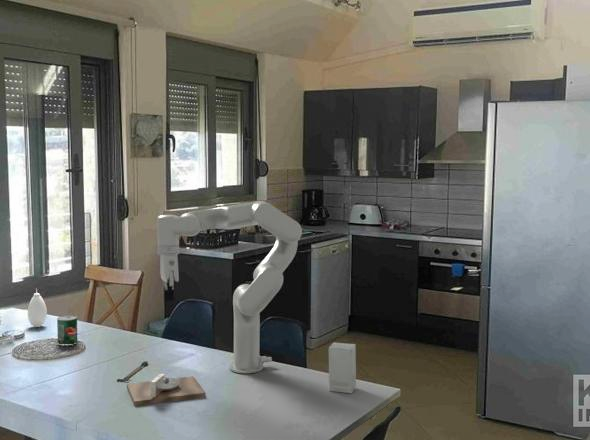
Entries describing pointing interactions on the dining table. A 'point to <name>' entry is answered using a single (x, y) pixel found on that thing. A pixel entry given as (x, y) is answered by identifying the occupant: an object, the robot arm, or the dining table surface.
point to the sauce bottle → (37, 310)
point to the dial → (163, 384)
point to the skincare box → (342, 367)
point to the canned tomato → (67, 329)
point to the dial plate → (165, 392)
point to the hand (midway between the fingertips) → (168, 300)
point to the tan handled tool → (132, 373)
